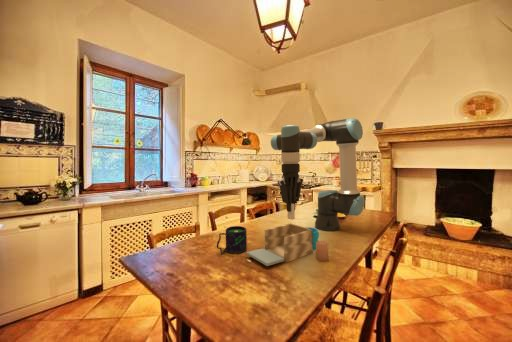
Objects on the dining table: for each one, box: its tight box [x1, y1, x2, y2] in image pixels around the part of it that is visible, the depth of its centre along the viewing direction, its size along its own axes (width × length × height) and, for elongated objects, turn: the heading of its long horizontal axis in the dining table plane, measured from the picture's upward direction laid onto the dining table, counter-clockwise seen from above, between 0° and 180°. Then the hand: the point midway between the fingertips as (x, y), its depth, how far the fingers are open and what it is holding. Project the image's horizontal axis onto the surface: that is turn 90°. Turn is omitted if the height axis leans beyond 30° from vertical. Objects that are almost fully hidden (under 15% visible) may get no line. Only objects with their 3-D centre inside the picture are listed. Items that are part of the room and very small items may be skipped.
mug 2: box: [307, 227, 320, 250], centre depth 114 cm, size 12×8×8 cm
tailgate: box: [246, 247, 285, 267], centre depth 98 cm, size 1×14×10 cm
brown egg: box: [315, 240, 329, 263], centre depth 98 cm, size 5×5×7 cm
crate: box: [264, 223, 314, 263], centre depth 106 cm, size 17×14×10 cm
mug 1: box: [216, 225, 248, 255], centre depth 108 cm, size 15×10×10 cm, turn 117°
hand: (291, 218), depth 97 cm, fingers closed
